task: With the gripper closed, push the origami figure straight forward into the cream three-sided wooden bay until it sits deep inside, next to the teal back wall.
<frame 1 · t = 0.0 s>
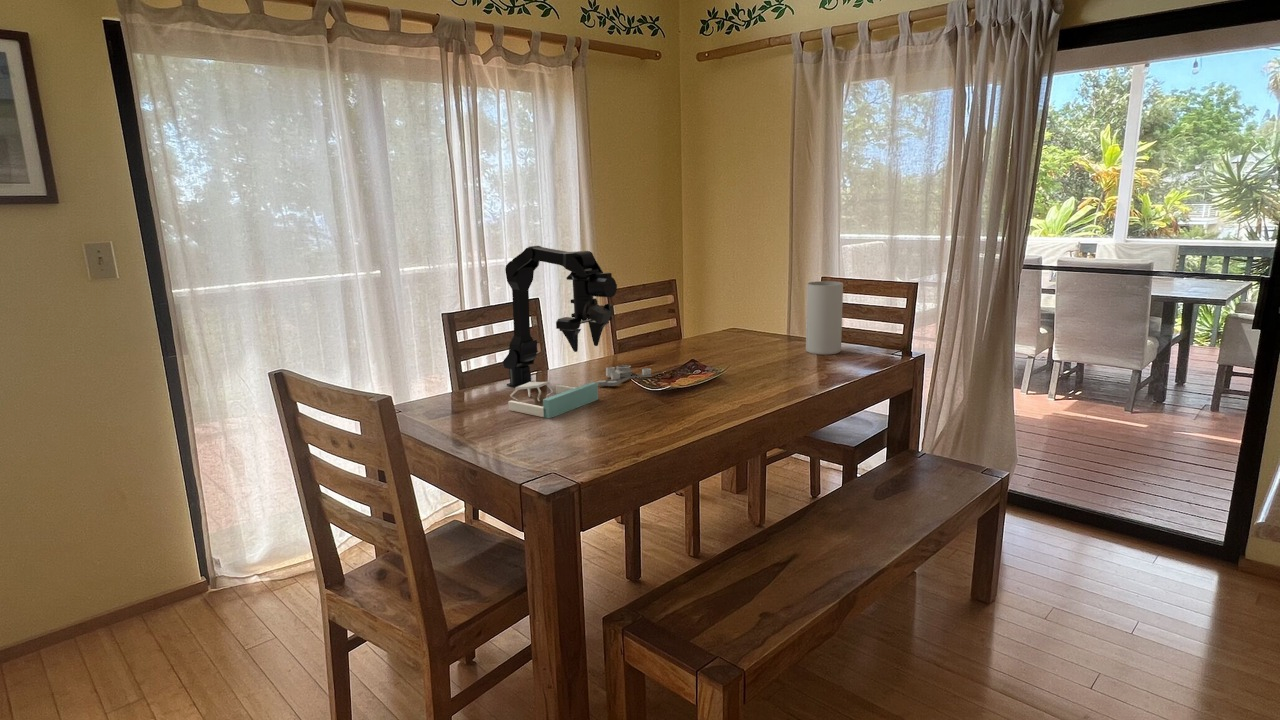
hand: (586, 348, 207), 15 cm above the table, tool pointing down, fingers open, 9 cm apart
bay: (553, 404, 203), on the table
pulley system: (630, 380, 230), on the table
cylinder vase: (823, 351, 259), on the table
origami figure: (530, 401, 209), on the table
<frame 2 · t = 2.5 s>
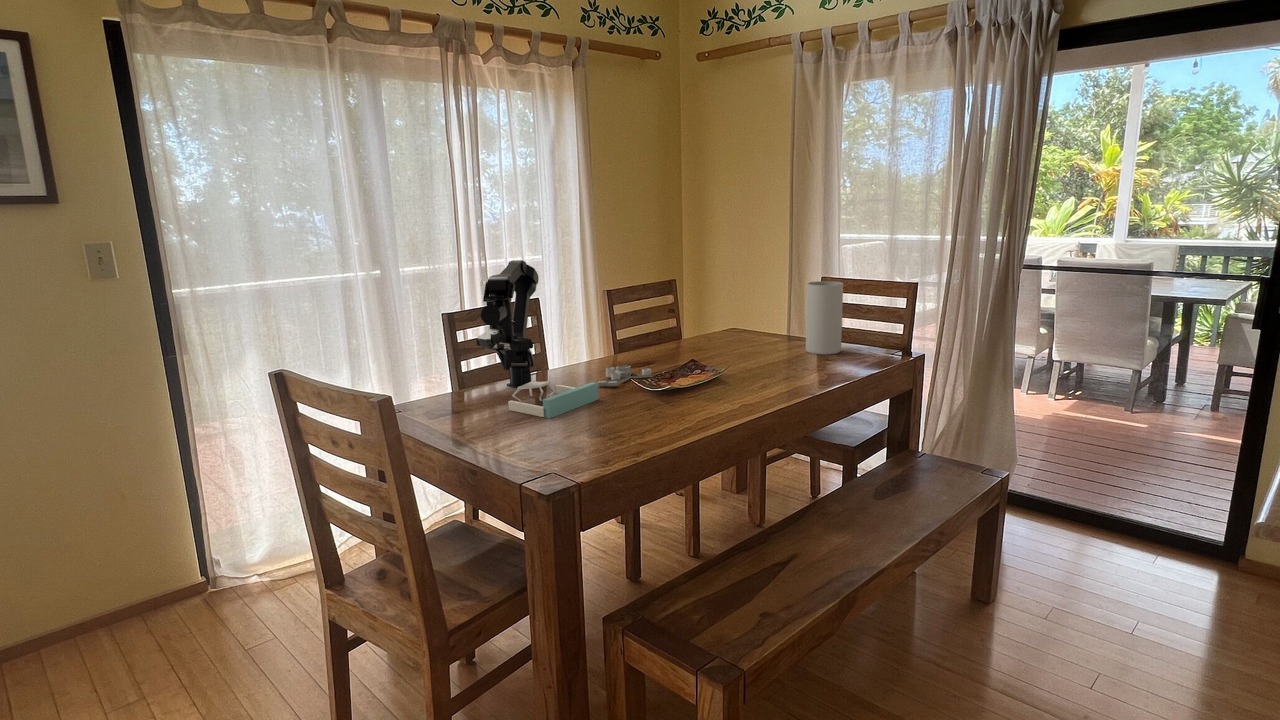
hand: (506, 370, 213), 8 cm above the table, tool pointing down, fingers closed
nothing on the table moved.
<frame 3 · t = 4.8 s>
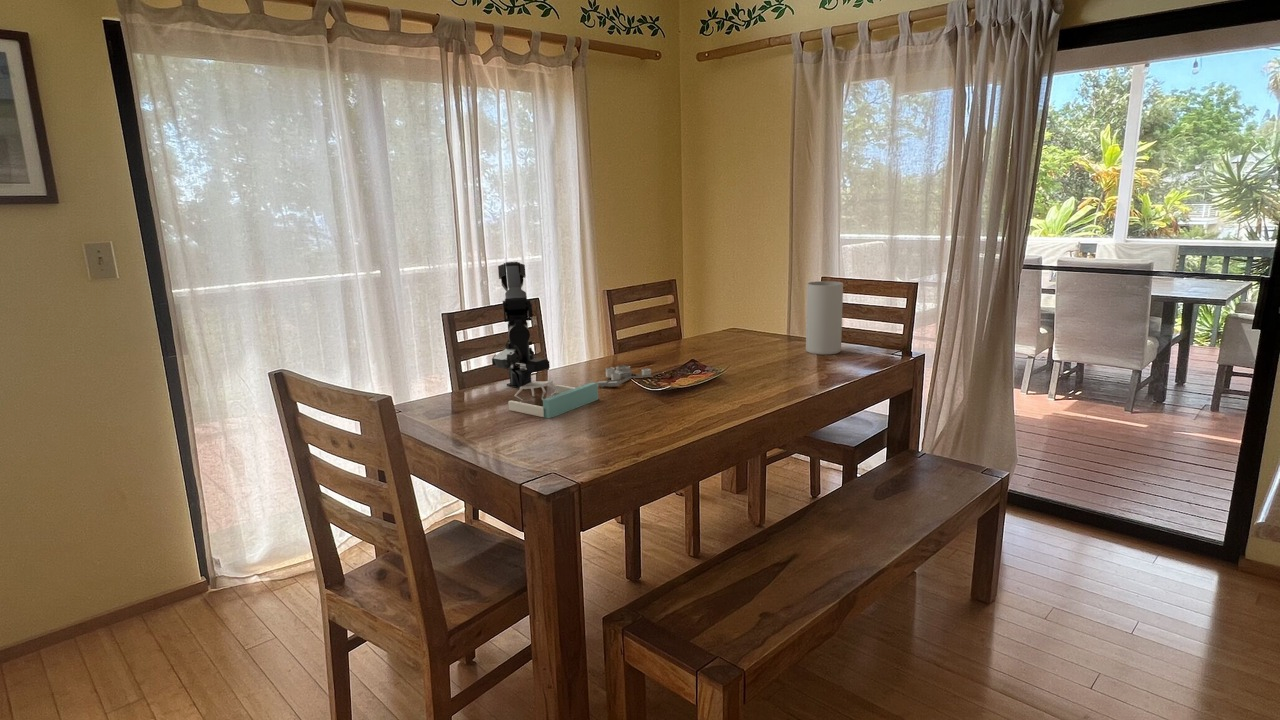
hand: (522, 390, 210), 3 cm above the table, tool pointing down, fingers closed
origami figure: (534, 400, 209), on the table, touching gripper
everything else where it was.
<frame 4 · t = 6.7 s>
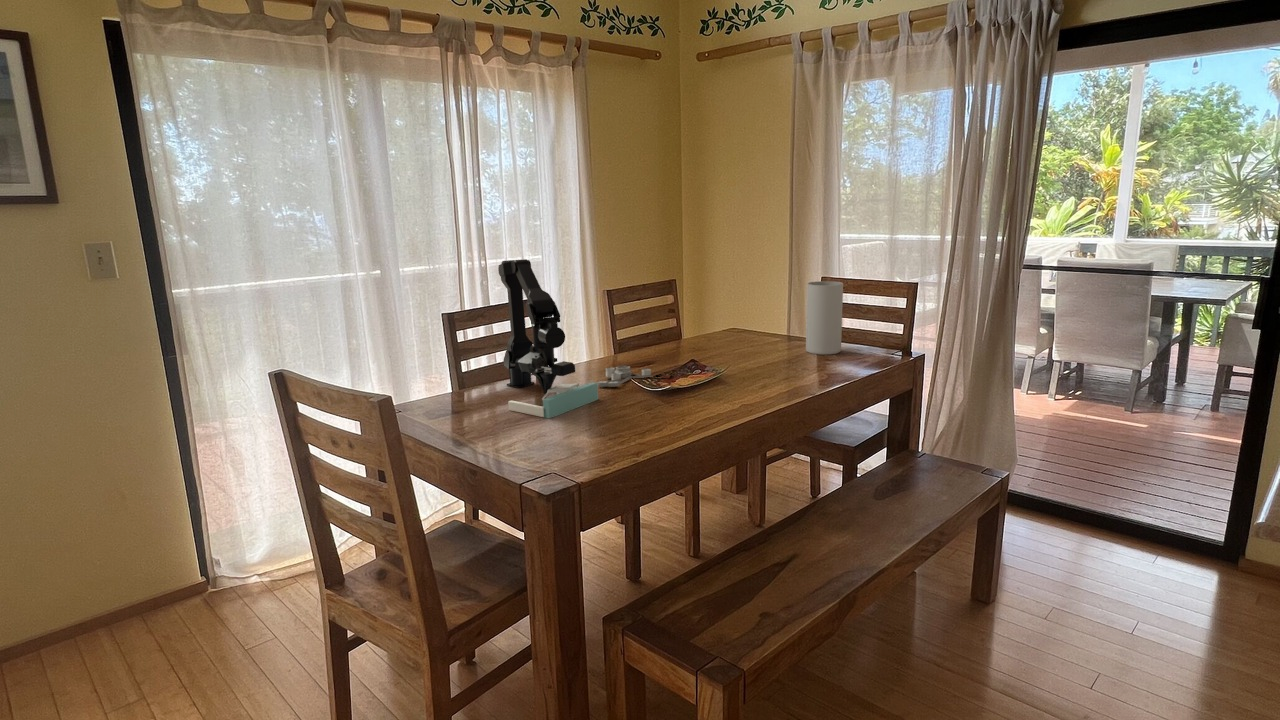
hand: (546, 394, 204), 3 cm above the table, tool pointing down, fingers closed
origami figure: (560, 403, 205), on the table, touching gripper
everything else where it was.
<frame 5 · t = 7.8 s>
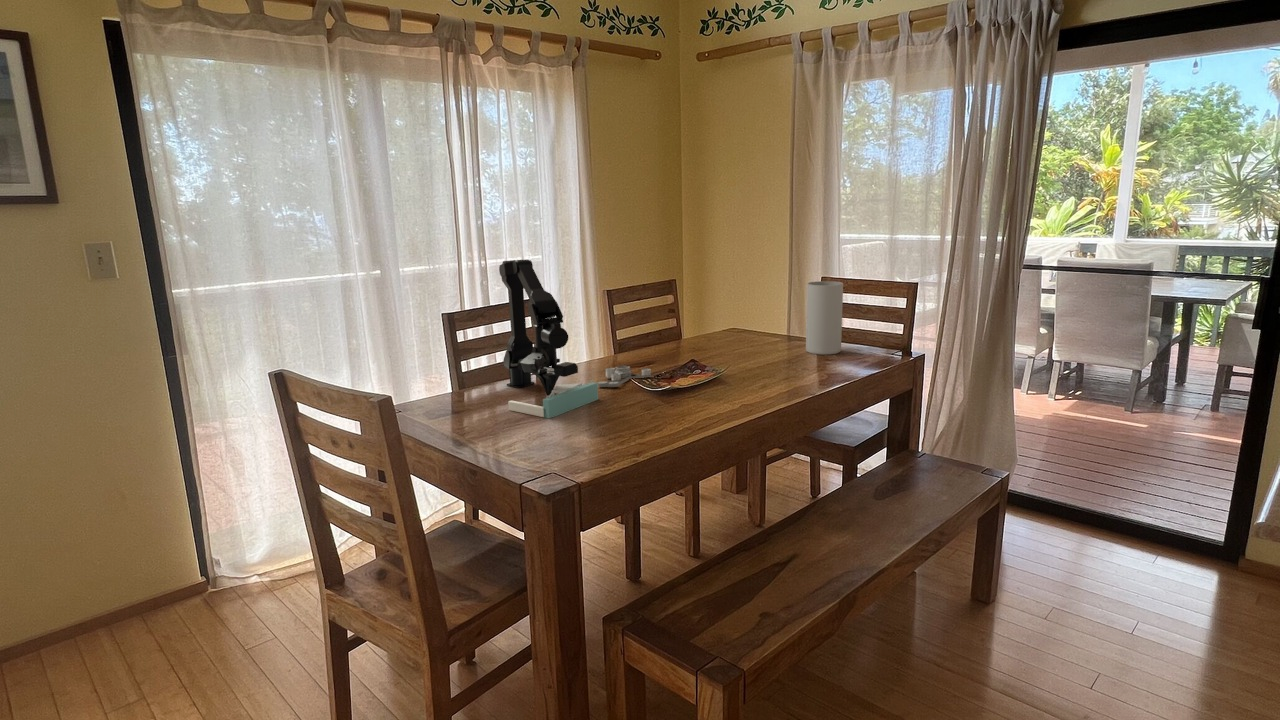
hand: (548, 395, 204), 3 cm above the table, tool pointing down, fingers closed
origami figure: (564, 403, 205), on the table
everything else where it was.
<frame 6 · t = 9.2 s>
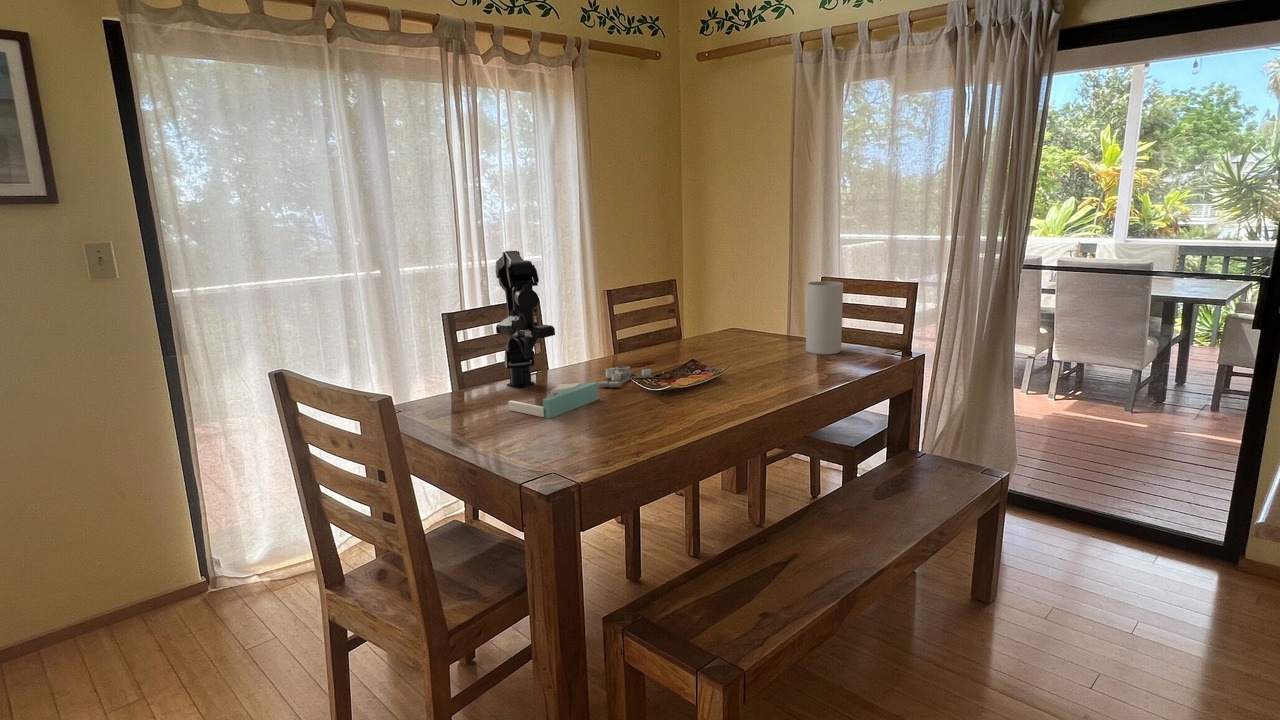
hand: (527, 358, 206), 13 cm above the table, tool pointing down, fingers closed
nothing on the table moved.
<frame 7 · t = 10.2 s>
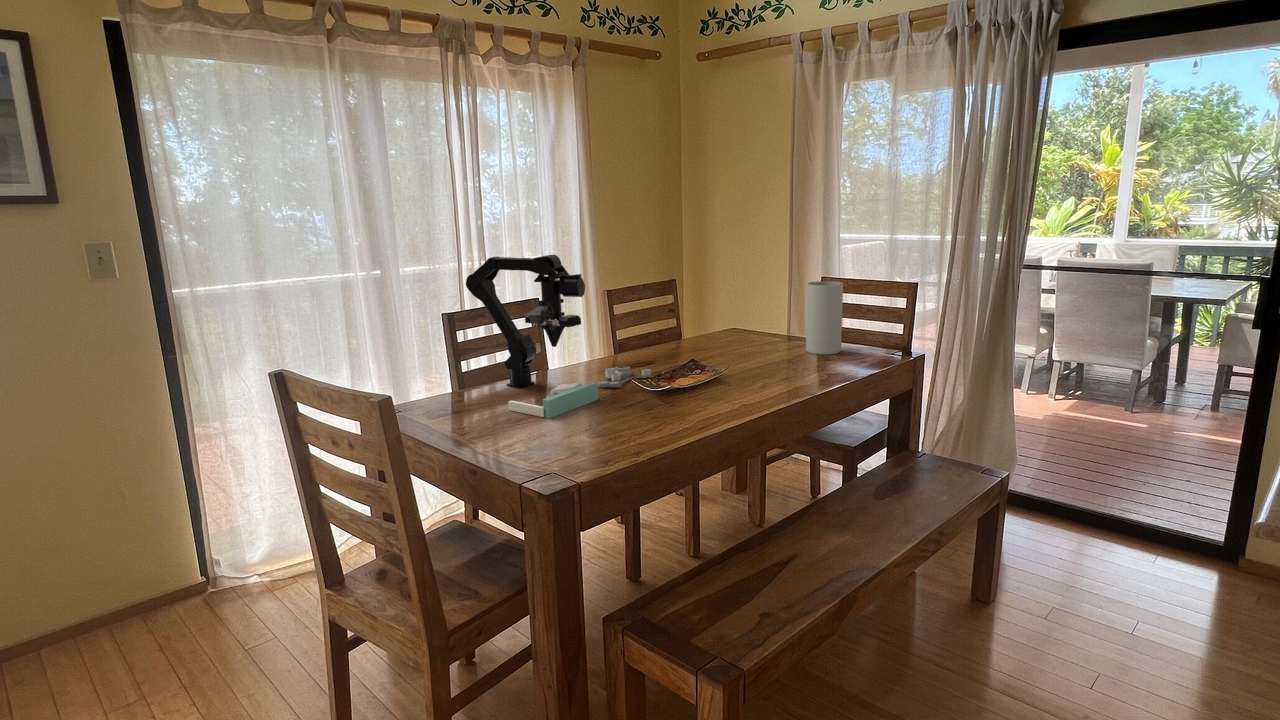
hand: (554, 346, 219), 13 cm above the table, tool pointing down, fingers closed
nothing on the table moved.
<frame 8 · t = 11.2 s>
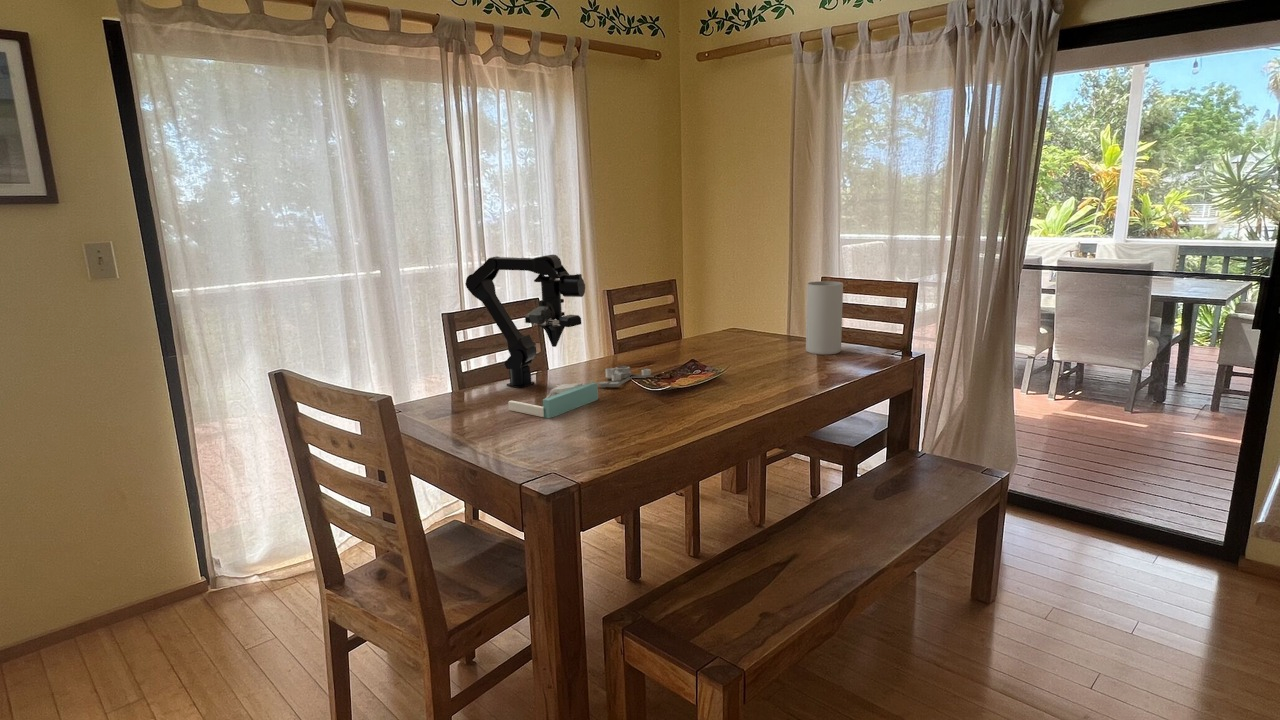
hand: (554, 346, 220), 13 cm above the table, tool pointing down, fingers closed
at the end: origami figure inside the target area (3.3 cm from its centre), on the table; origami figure moved 11.1 cm from its start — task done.
